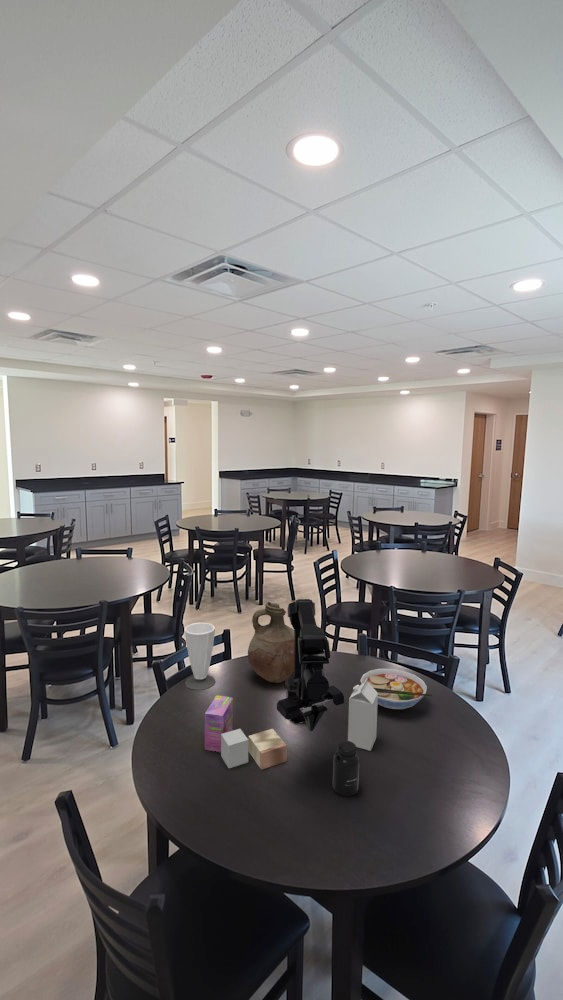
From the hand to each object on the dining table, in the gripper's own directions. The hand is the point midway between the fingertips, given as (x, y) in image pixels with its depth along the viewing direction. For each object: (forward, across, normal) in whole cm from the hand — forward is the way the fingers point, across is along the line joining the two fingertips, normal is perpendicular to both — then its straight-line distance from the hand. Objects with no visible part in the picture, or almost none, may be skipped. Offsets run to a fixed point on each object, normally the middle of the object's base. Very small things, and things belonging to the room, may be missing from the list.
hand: (310, 730), depth 133 cm
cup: (+12, +12, -61) cm, 63 cm away
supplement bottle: (+12, -5, +10) cm, 17 cm away
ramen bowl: (+12, -44, -17) cm, 49 cm away
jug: (+12, -15, -51) cm, 55 cm away
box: (+12, +18, -24) cm, 32 cm away
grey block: (+12, +17, -14) cm, 25 cm away
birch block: (+10, +8, -6) cm, 14 cm away
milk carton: (+12, -21, -4) cm, 25 cm away
